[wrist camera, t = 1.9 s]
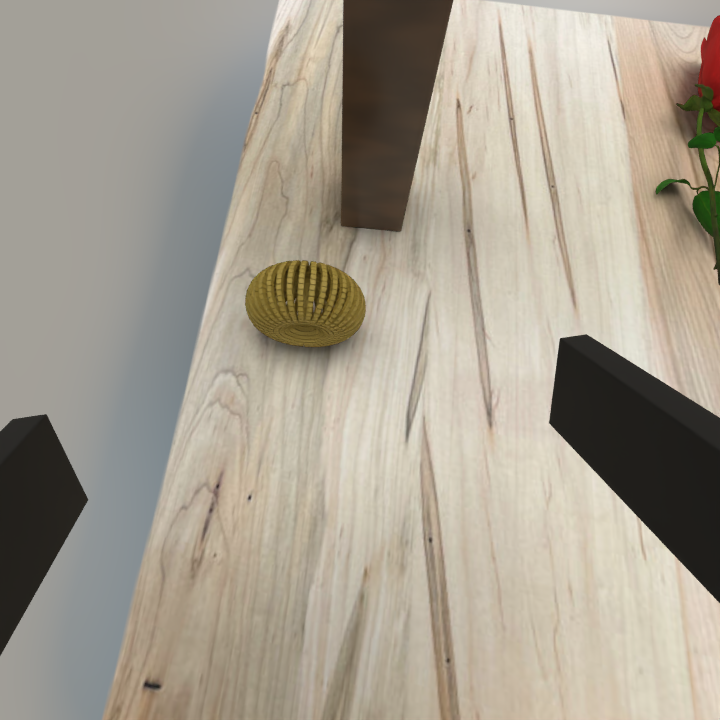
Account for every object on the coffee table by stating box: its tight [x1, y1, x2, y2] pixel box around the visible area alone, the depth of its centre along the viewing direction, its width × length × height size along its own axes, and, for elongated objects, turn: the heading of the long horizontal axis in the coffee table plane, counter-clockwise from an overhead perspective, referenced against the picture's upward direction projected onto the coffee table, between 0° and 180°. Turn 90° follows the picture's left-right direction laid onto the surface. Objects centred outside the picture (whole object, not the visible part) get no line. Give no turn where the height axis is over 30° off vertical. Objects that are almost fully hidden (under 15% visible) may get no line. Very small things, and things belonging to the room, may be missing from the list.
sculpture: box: [245, 260, 366, 347], centre depth 30 cm, size 8×4×8 cm, turn 88°
